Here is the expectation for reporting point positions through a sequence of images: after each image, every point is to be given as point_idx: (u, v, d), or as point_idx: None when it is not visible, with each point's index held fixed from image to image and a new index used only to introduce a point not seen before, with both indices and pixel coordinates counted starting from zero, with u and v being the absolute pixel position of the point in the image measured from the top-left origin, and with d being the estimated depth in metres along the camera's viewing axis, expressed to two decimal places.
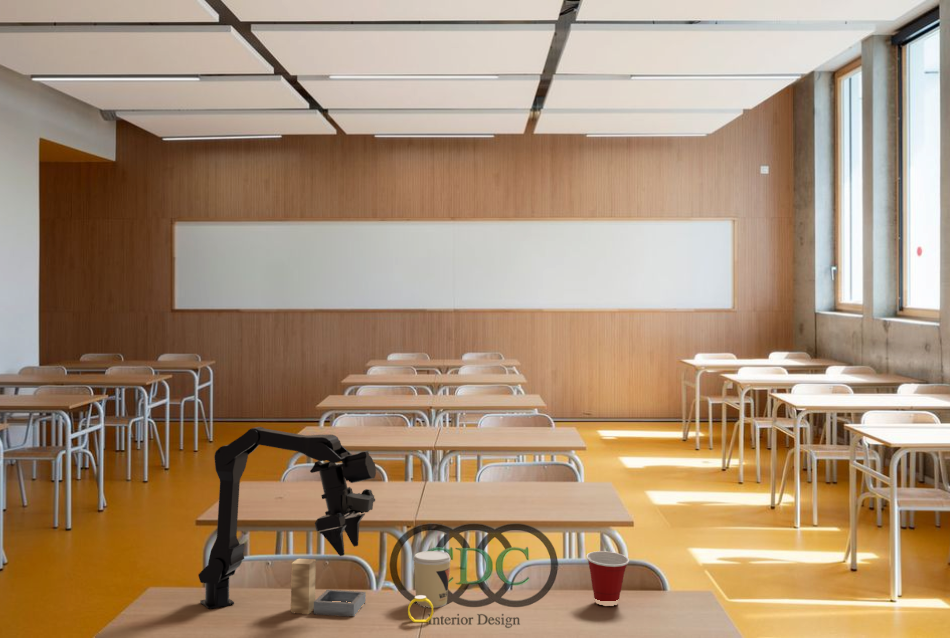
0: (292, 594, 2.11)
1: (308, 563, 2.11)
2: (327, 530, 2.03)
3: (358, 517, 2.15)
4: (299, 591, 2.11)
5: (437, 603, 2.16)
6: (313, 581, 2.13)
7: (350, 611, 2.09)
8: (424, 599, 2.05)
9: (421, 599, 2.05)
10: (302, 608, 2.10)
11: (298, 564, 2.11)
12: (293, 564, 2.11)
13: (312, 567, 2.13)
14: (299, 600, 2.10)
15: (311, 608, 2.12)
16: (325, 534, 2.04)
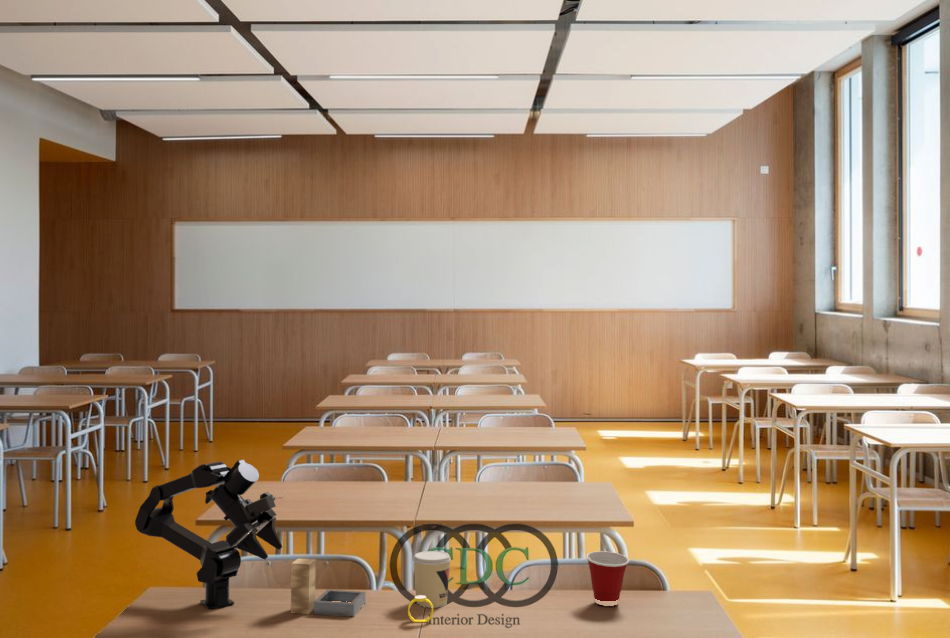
0: (292, 594, 2.11)
1: (308, 563, 2.11)
2: (240, 541, 2.07)
3: (270, 522, 2.20)
4: (299, 591, 2.11)
5: (437, 603, 2.16)
6: (313, 581, 2.13)
7: (350, 611, 2.09)
8: (424, 599, 2.05)
9: (421, 599, 2.05)
10: (302, 608, 2.10)
11: (298, 564, 2.11)
12: (293, 564, 2.11)
13: (312, 567, 2.13)
14: (299, 600, 2.10)
15: (311, 608, 2.12)
16: (241, 547, 2.09)
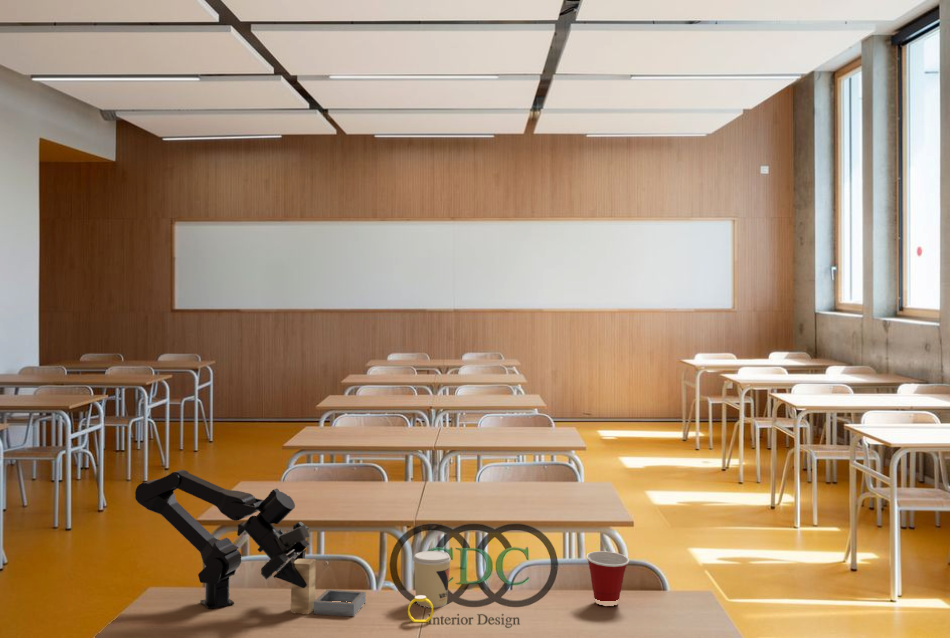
0: (292, 594, 2.11)
1: (308, 563, 2.11)
2: (279, 571, 2.08)
3: (300, 554, 2.16)
4: (299, 591, 2.11)
5: (437, 603, 2.16)
6: (313, 581, 2.13)
7: (350, 611, 2.09)
8: (424, 599, 2.05)
9: (421, 599, 2.05)
10: (302, 608, 2.10)
11: (298, 564, 2.11)
12: None
13: (312, 567, 2.13)
14: (299, 600, 2.10)
15: (311, 608, 2.12)
16: (280, 576, 2.09)
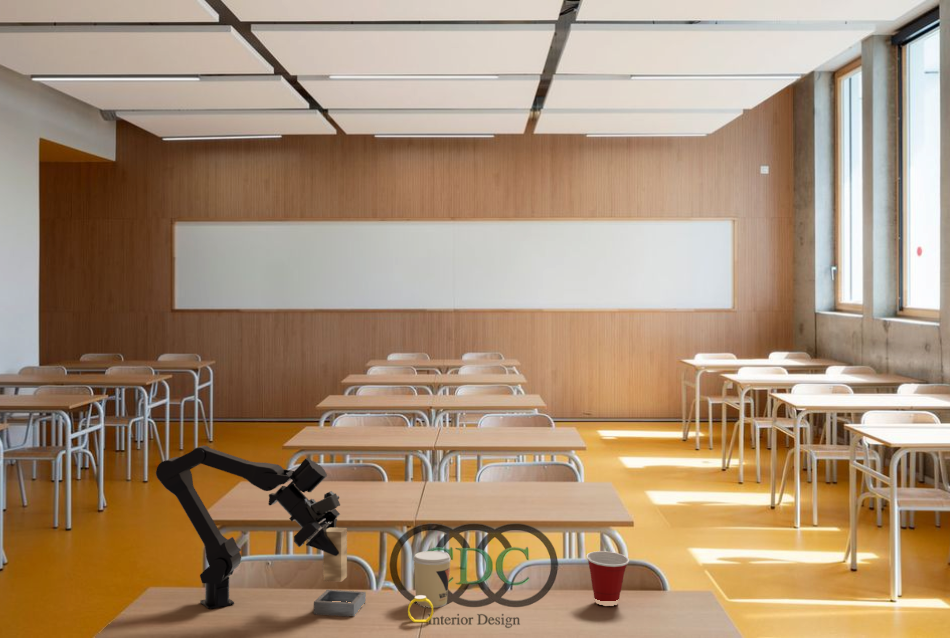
0: (324, 562, 2.12)
1: (340, 531, 2.12)
2: (311, 539, 2.09)
3: (331, 523, 2.17)
4: (331, 559, 2.12)
5: (437, 603, 2.16)
6: (345, 549, 2.15)
7: (350, 611, 2.09)
8: (424, 599, 2.05)
9: (421, 599, 2.05)
10: (335, 576, 2.12)
11: (330, 532, 2.12)
12: None
13: (344, 535, 2.14)
14: (332, 568, 2.12)
15: (343, 576, 2.13)
16: (312, 544, 2.10)
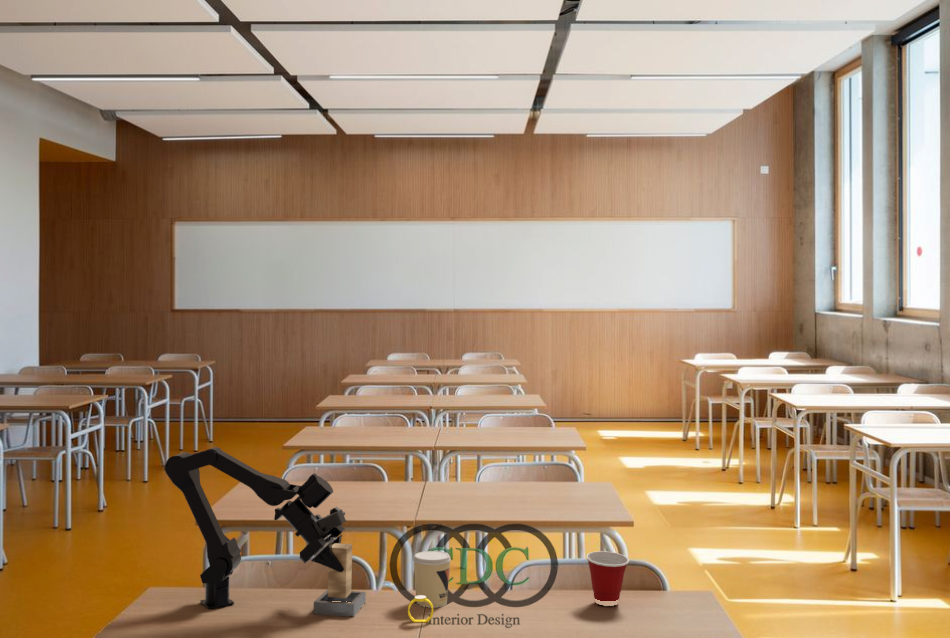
0: (329, 578, 2.13)
1: (345, 547, 2.13)
2: (317, 555, 2.09)
3: (337, 539, 2.18)
4: (336, 575, 2.12)
5: (437, 603, 2.16)
6: (350, 565, 2.15)
7: (350, 611, 2.09)
8: (424, 599, 2.05)
9: (421, 599, 2.05)
10: (340, 592, 2.12)
11: (335, 548, 2.12)
12: None
13: (349, 552, 2.14)
14: (336, 584, 2.12)
15: (348, 592, 2.14)
16: (318, 560, 2.11)
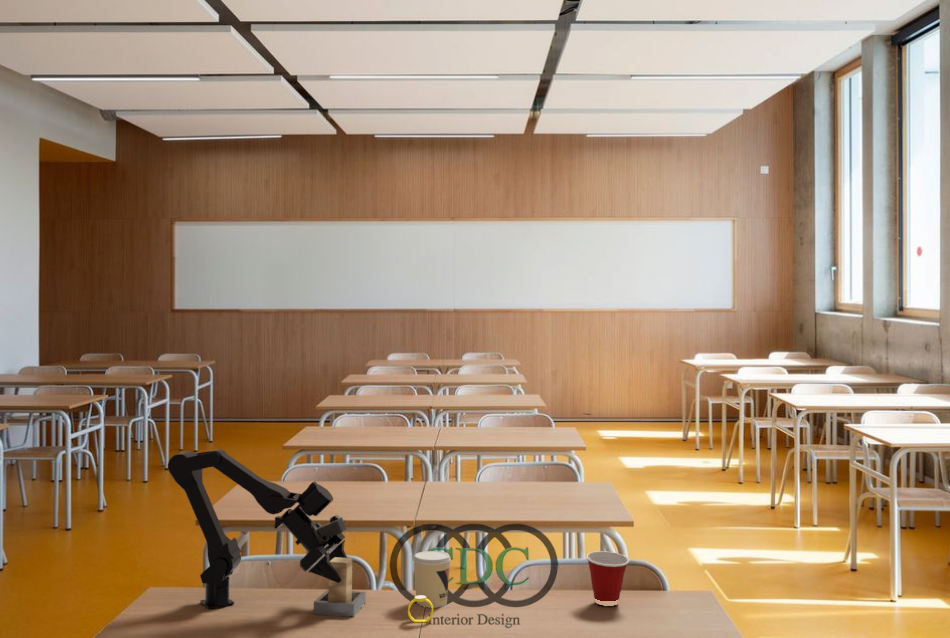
0: (329, 593, 2.12)
1: (345, 562, 2.13)
2: (314, 565, 2.07)
3: (340, 545, 2.20)
4: (336, 589, 2.12)
5: (437, 603, 2.16)
6: (350, 580, 2.15)
7: (350, 611, 2.09)
8: (424, 599, 2.05)
9: (421, 599, 2.05)
10: None
11: (335, 563, 2.12)
12: None
13: (349, 566, 2.14)
14: (337, 598, 2.12)
15: None
16: (315, 571, 2.09)
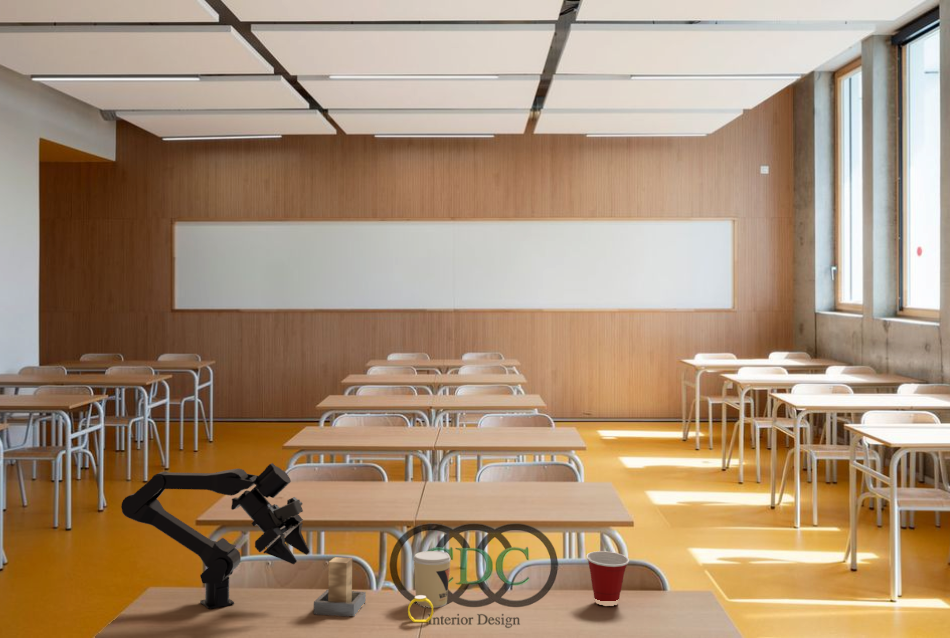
0: (329, 593, 2.12)
1: (345, 562, 2.13)
2: (269, 546, 2.08)
3: (297, 527, 2.21)
4: (336, 589, 2.12)
5: (437, 603, 2.16)
6: (350, 580, 2.15)
7: (350, 611, 2.09)
8: (424, 599, 2.05)
9: (421, 599, 2.05)
10: None
11: (335, 563, 2.12)
12: (330, 563, 2.12)
13: (349, 566, 2.14)
14: (337, 598, 2.12)
15: None
16: (270, 552, 2.09)
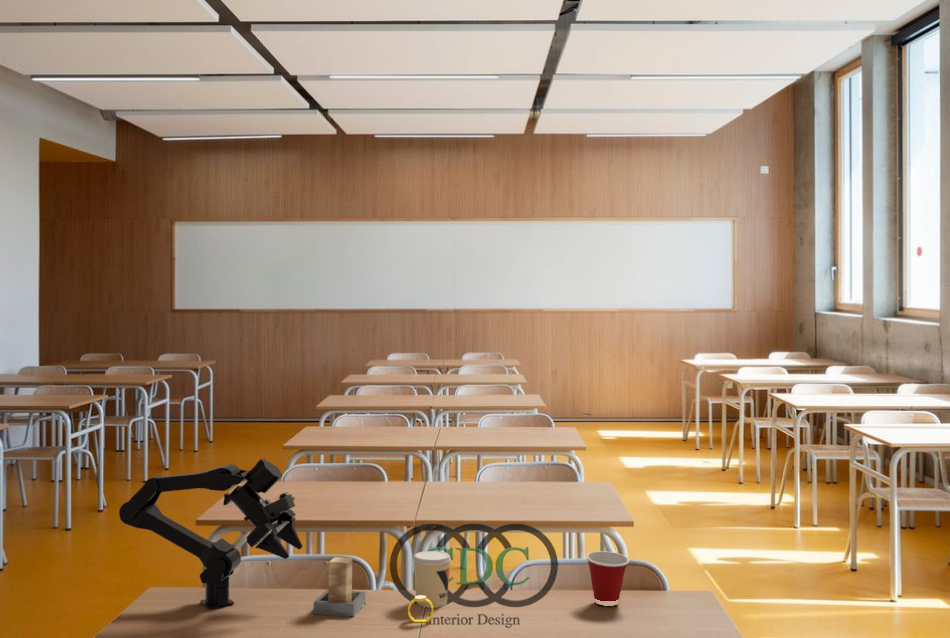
0: (329, 593, 2.12)
1: (345, 562, 2.13)
2: (261, 541, 2.08)
3: (289, 522, 2.20)
4: (336, 589, 2.12)
5: (437, 603, 2.16)
6: (350, 580, 2.15)
7: (350, 611, 2.09)
8: (424, 599, 2.05)
9: (421, 599, 2.05)
10: None
11: (335, 563, 2.12)
12: (330, 563, 2.12)
13: (349, 566, 2.14)
14: (337, 598, 2.12)
15: None
16: (262, 547, 2.09)
